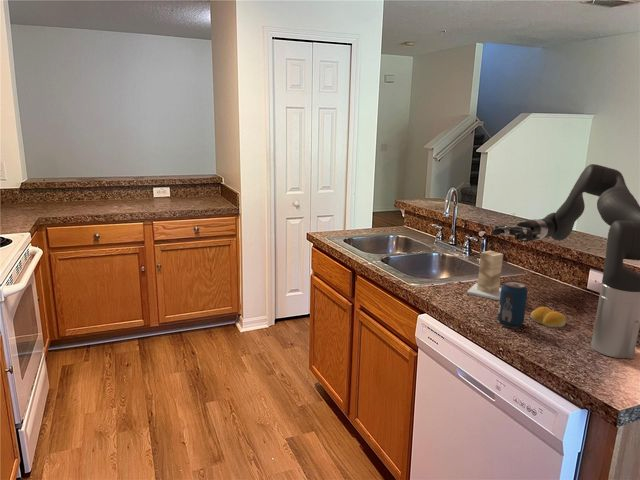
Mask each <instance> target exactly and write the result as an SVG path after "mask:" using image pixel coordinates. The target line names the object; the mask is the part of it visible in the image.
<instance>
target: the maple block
mask: <svg viewBox="0 0 640 480" xmlns="http://www.w3.org/2000/svg"><path fill="white" fill-rule="evenodd" d="M479 259H480V260H479V266H478V267H479V268H478V278H477V283H478V285H477V290H480V291H483V292H486V293H489V294H491V293H494V292H498V291H499V287H500V284H501V277H502V276H501V275H502V267H503V259H504V254H503V253H501V252H497V251H493V250H486V251H481V252H480V258H479Z"/></svg>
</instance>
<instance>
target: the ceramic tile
mask: <svg viewBox="0 0 640 480" xmlns="http://www.w3.org/2000/svg"><path fill="white" fill-rule="evenodd" d="M477 285H478V282H475V283H474V284H473V285H472V286H471V287H470V288H469V289H468V290H466V294H467V295H471V296H475V297H481V298H484V299H485V298H486V299H491V300H494V301H495V300H496V301H499V302H500V294H501V287H500V286H499V291H498V292H494V293H491V294H489V293H486V292H483V291H480V290H477Z"/></svg>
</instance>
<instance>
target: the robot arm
mask: <svg viewBox="0 0 640 480" xmlns="http://www.w3.org/2000/svg"><path fill="white" fill-rule="evenodd" d="M583 193H585V194H587V195H588V194H589V195H592V196H596V197H598V199H597V200H596V209H597V211H598V213H599V215H600V217H601V220H602V221H603V222H604V223H605V224H606V225H607V226H609V228H608V232H607V233H608V234H607V240H606V249H605V258H604V263H603V274H602V280H601V285H600V291H599V297H598V304H597V309H596V313H595V320H594V325H593V332H592V337H591V342H590V343H591V344H590V346H591V349H593V350H594V351H596V352H598V353H599V354H602V355H603V356H607V357H611V358H615V359H630V360H634V355H635V351H636V347H637V341H638V337H639V336H638V335H639V330H640V273H639V272H637V271H634V270H632V269H630V268H628V267H626V266H625V265H624V260H629V261H630V260H631V261H640V204H639V203H638V200H637V199H636V198H635V196H634V195H633V194H632V193H631V191H630V190H629V187H628V186H627V184H626V181H625V178H624V176H623V174H622V172H621V171H619V170H617V169H614V168H612V167H608V166H603V165H601V164H600V165H599V164H596V163H594V164H593V163H591V164H589V165H587V166H586V167H585V168H584V169H583V171H582V172H581V173H580V175H579V176H578V179H577V180H576V182H575V184H573V187H572V189H571V190H570V192H569V194H568V196H567V197H566V199H565V200H564V202H563V203H562V204H561V206H559V208H558V209H557V210H556V211H555V212H551V213H549V214H547V215H546V216H545V217H543V218H541V219H537V218H536V219H526V220H520V221H519V222H518V223H517V224H516V225H507V224H503V225H495V226H494V228H493V229H492V231H491V234H492V236H500V235H501V236H502V235H503V236H504V237H513V238H514V240H515V241H520V242H522V243H530V242H535V241H539V240H542V239H547V238H550V237H551V239H552V240H554V241H557V240H558V242H559V241H560V242H561V241H563V240H566V239H567V238H568V237H569V236H570V235H571V233H572V231H573V228H574V225H575V223H576V221H577V220H579V218H580V217H581V216H582V215H583V213H584V211H585V207H586V205H585V200H584V194H583Z"/></svg>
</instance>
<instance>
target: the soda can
mask: <svg viewBox="0 0 640 480" xmlns="http://www.w3.org/2000/svg"><path fill="white" fill-rule="evenodd" d="M500 288H501V294H500V301H499V305H498V311H497V312H498V313H497V320H498V323H499V324H500V325H501V326H503V327H506V328H512V329H517V328H520V327H521V326H522V325H523V324H524V321H525V314H526V306H527V299H528V289H527V285H526V283H524V282H521V281H518V280H506V281H504V282H503V285H502V286H501V287H500Z"/></svg>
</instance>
